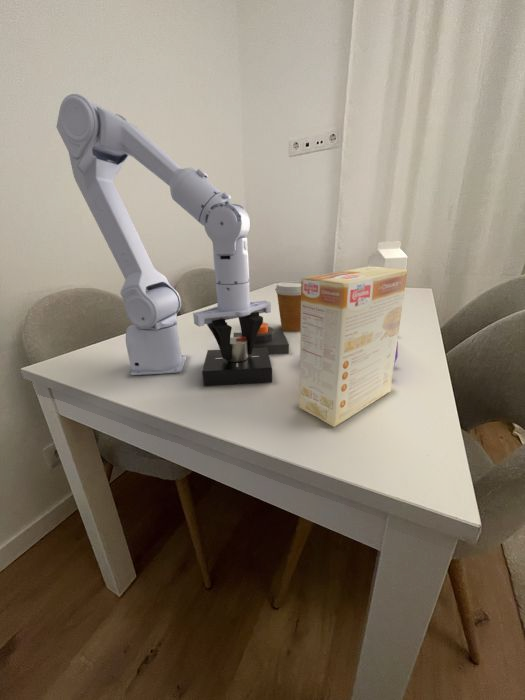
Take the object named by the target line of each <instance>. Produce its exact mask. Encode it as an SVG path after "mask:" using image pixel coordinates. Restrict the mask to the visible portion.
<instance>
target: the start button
mask: <svg viewBox="0 0 525 700" xmlns="http://www.w3.org/2000/svg"><path fill="white" fill-rule="evenodd" d="M268 327H269V324H268V322H267V323H266V322H263V323H262V325H261V327H260V328H259V330H258V333H257V334H263V333H267V332H268Z"/></svg>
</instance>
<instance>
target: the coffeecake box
mask: <svg viewBox="0 0 525 700" xmlns="http://www.w3.org/2000/svg"><path fill="white" fill-rule="evenodd" d="M407 274H408V270H407V269H406V270H399V269H388V268H380V267H368V266H364V267H359V268H353V269H348V270H341V271H336V272H329V273H324V274H318V275H313V276H306V277H301V278H300V282H301V331H300V336H299V337H300V340H299V342H300V343H299V344H300V346H299V404H298V405H299V407H298V408H299V409H301V410H302V411H304V412H306V413H308V414H310V415H311V416H314V417H316V418H317V419H319V420H320V421H322V422H324V423H325V424H327V425H329V426H331V427H332V428H336V427H337V426H339V425H340V424H341V423H343V422H345V421H347V420H348V419H349V418H352V416H354V415H355V414H357V413H359V412H360V411H362V410H363V409H365V408H367V407H369V406H370V405H371V404H373V403H375V402H376V401H377V400H379V399H380V398H382V397H384V396H386V395H387V394H389V393H390V392H391V391H392V383H393V376H394V375H393V374H394V369H395V365H394V362H395V355H396V347H397V341H398V339H399V332H400V324H401V316H402V311H403V304H404V297H405V288H406V281H407V276H408V275H407ZM395 363H396V362H395Z"/></svg>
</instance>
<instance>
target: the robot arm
mask: <svg viewBox="0 0 525 700" xmlns="http://www.w3.org/2000/svg"><path fill="white" fill-rule="evenodd" d="M56 121H57V122H56V125H55V126H56V129H57V132H58V134H59V136H60V138H61V140H62V141H63V143H64V146H65V147H66V149H67V151H68V155H69V161H70V165H71V170H72V171H71V172H72V174H73V178H74V181H75V183H76V184H77V187H78V189H79V191H80V193H81V195H82V196H83V198H84V201H85V202H86V203H85V204H86V205H87V207H88V208H89V211H90V212H91V214H92V217H93V218H94V221H95V223H96V224H97V226H98V228H99V230H100V232H101V234H102V237H103V238H104V240H105V242H106V244H107V247H108V248H109V250H110V252H111V254H112V256H113V258H114V260H115V262H116V264H117V265H118V268H119V270H120V272H121V273H122V275H123V278H124V282H123V285H122V287H121V289H120V295H121V298H122V299H123V304H124V311H125V315H126V317H127V318H128V320H129V321H130V322H131V325H129V326H128V327H126V331H125V345H126V350H127V356H128V360H129V365H130V370H131V371H130V376H143V375H161V374H177V373H178V374H179V373H181V372H182V371H183V368H184V366H185V364H186V360H187V358H188V356H187V355H186V354H182V349H181V342H180V334H179V327H178V326H179V325H178V313H179V312H180V310H181V308H182V298H181V295H180V293H179V292H178V291H177V289H175V288H174V287H173V286H172V285H171V284H170V282H169V280H168V278H167V277H166V276H165V275H164V274H162V273H161V272H159V271H158V270H157V269H156V268H155V267H154V264H153V263H152V260H151V259H150V257H149V254H148V252H147V250H146V248H145V246H144V244H143V242H142V240H141V238H140V237H141V236H140V235H139V233H138V231H137V229H136V227H135V225H134V222H133V221H132V218H131V216H130V213H129V212H128V210H127V208H126V206H125V203H124V201H123V199H122V197H121V195H120V193H119V191H118V189H117V187H116V185H115V183H114V182H115V178H116V177H117V176H118V175H119V173H120V171H121V169H122V168H123V166H125V163H126V162H127V160H128V158H129V157H132V158H133V159H135V160H136V161H137V162H139V164H141V165H142V166H143V167H145V168H146V169H147V170H148V171H150V172H151V173H152V174H153V175H155V176H156V177H157V178H158V179H160V180H161V181H162V182H164V183H165V184H166V185H168V187H169V191H170V196H171V199H172V200H173V201H174V202H175V203H176V204H178V205H179V206H180V207H181V208H182V209H183V210H184V211H186V212H187V213H188V215H190V216H191V217H193V218H194V219H195V220H196V221H197V222H198V223H199V224H200V225H202V226H203V227H204V231H205V233H206V234H207V237H208V238H209V239H210V241H211V242H212V252H213V253H212V254H213V267H214V278H215V279H214V281H215V291H216V303H217V304H216V305H217V306H215V307H211V308H208V309H205V310H201V311H197V312H193V313H192V315H193V324H194V325H195V326H197V327H204V326H205V325H206V326H207V327H208V329H209V330H210V332H211V334H212V336H213V337H214V339H215V340H216V343H217V346H218V349H219V350H220V351H221V354H222V358H224V359H225V360H227V361H228V360H231V350H230V338H231V335H232V329H233V328H232V326H231V325H229V324H228V322H227V321H228V320H229V321H230V320H233V319H238V321H239V325H240V326H239V327H240V332H242V337H244V336H245V337H246V339H247V346H248V354H249V355H250V354H252V350H253V346H254V342H255V338H256V335H257V333H258V330H259V328H260V327H261V325H262V323H264V317H263V316H261V315H260V314H269V313H272V307H271V306H272V302H271V301H267V300H260V301H251V290H250V264H249V263H250V262H249V252H248V250H249V249H248V238H247V237H248V236H249V235H250V232H251V228H252V221H251V217H250V214H249V213H248V212H247V211H246V209H245V207H244V206H243V205H241V204H237V203H231V199H232V196H231V195H230V194H228V192H225V191H224V192H222V191H221V190H219V189H218V187H216V186H215V185H213V184H212V183H211V182H210V181H209V180H208V177H209V175H208V174H207V173H206V172H205V171H204V170H203V169H201V168H198V169H197V170H196V169H195V168H194V167H185V168H182V167H181V166H180V165H179V164H178V163H176V161H174V160H173V158H171V157H170V156H169V155H168V154H167V153H166V152H165V151H164V150H163V149H162V148H160V146H159V145H158V144H156V142H154V141H153V139H151V137H150V136H148V135H147V134H146V133H145V132H144V131H142V129H141V128H139V126H137V125H135V124H133V123H132V122H130V121H128V119H127V118H126V117H124V116H123V115H121V114H118V113H114V112H112V111H110V110H109V109H106V108H105V107H102V106H100V105H98V104H96V103H94V102H92V101H90V100H89V99H88V98H86V97H85V96H83V95H82V94H78V93H71V94H69V95H67V96H65V97H64V98H63V100H62V102H61V104H60V106H59V111H58V116H57V120H56Z"/></svg>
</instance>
